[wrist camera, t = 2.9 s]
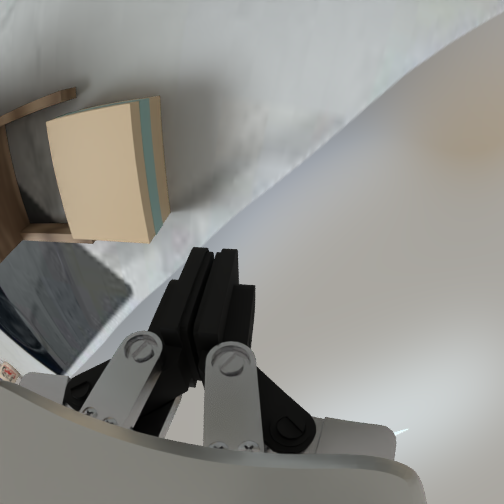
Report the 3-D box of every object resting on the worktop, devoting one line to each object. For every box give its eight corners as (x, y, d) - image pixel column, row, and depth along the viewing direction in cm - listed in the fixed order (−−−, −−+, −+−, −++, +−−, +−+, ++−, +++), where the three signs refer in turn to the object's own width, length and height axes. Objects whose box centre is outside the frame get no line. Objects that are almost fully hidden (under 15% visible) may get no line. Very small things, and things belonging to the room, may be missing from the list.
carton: (161, 95, 21) (130, 102, 17) (171, 212, 28) (150, 244, 24) (83, 108, 22) (45, 121, 17) (100, 210, 29) (72, 239, 24)
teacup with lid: (20, 372, 74) (9, 394, 65) (19, 376, 78) (9, 396, 69) (-2, 354, 70) (-14, 375, 60) (-1, 359, 74) (-12, 379, 65)
